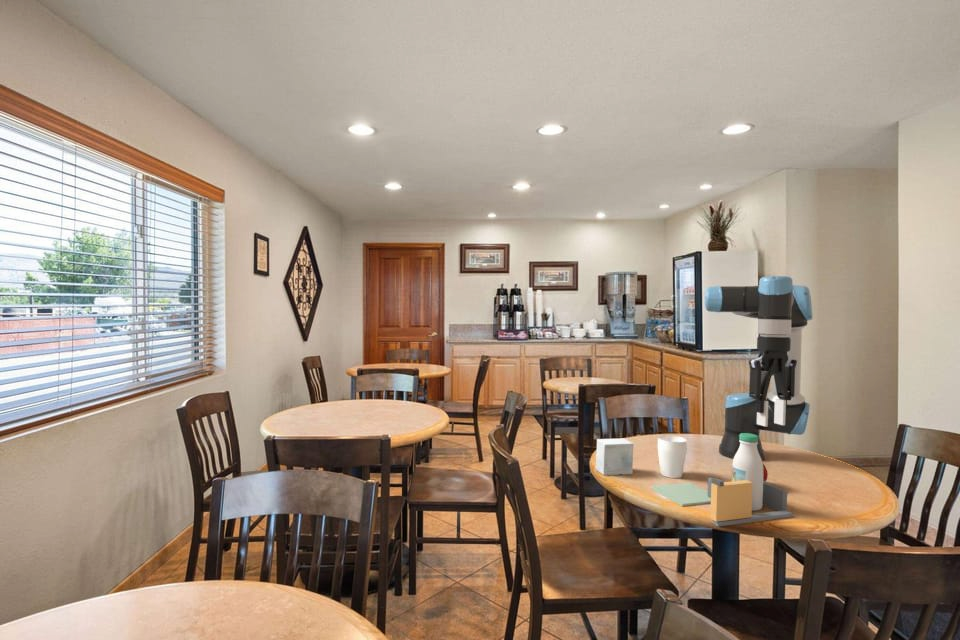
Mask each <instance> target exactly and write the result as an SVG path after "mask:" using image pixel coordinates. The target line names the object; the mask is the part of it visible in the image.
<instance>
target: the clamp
mask: <svg viewBox="0 0 960 640" xmlns="http://www.w3.org/2000/svg"><path fill="white" fill-rule="evenodd" d="M712 478H713V477H708V478H707V491H708V497H709V498H711V483H712ZM763 504H764V505H763ZM763 504H762V505H763V506H766V507H769V509H773V510H775V511H767V512H761V513H760V512H759V513H753V514H752V515H751V517H749V518H741V519H733V520H726V521H718V522H716V521H714V520H712V519H711V520H712V521H711V523H712V524H713V525H714V526H717V527H724V526H725V527H726V526H733V525H741V524H747V523H755V522H756V523H757V522H763V521H769V520H770V521H771V520H778V519H786V518H793V517H794V516H793V514H794V513H793V512H791V511H789V510H788V509H787V508H788V490H786V489H784V488H782V487H779V486H777V485H774V484H772V483H770V482H767V481H766V482H765V481H763Z"/></svg>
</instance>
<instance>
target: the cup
mask: <svg viewBox="0 0 960 640" xmlns="http://www.w3.org/2000/svg"><path fill="white" fill-rule="evenodd" d="M687 445H688V443H687V439H686V438H685V437H681V436H678V435H668V434H666V435H665V434H663V435H659V436H658V437H657V455H658V463H659V471H660V475H661V476H663V477H666V478H669V479H679V478H682V477H683V472H684V467H685V461H686V456H687V451H688V449H687V448H688V446H687Z"/></svg>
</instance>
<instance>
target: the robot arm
mask: <svg viewBox="0 0 960 640" xmlns="http://www.w3.org/2000/svg"><path fill="white" fill-rule="evenodd" d="M810 292H811V291H810V289H809V287H808V286H806V285H797V284H793V278H792V277H790V276H782V275H781V276H780V275H779V276H778V275H777V276H776V275H775V276H774V275H773V276H769V275H768V276H763V277H761V278H760V279H759V283H758V285H751V286H749V285H747V286H745V285H743V286H733V285H732V286H731V285H728V286H727V285H725V286H724V285H723V286H721V285H716V286H708V287H707V288H706V289H705V293H704V307H705V310H706V311H707V312H710V313H711V312H713V313H732V314H733V315H737V316H742V317H745V318H746V317H747V318H751V319H752V318H753V319H757V334H758V336H757V338H756V349H757V350H758V351H759V352H758V355H757V358H755V359H749V360H748V365H749V387H748V389H749V391H748V392H740V393H739V392H738V393H737V392H736V393H731V394H728V395H727V396H726V398H725V404H724V405H725V406H724V432H723V433H724V434H723V436H722V438H721V442H720V444H719V446H718V453H719V454H721V455H722V456H724V457H728V458H730V459H734V456H735V454H736V453H737V451H738V449H739V446H740V442H739V440H740V439H739V435H740V434H741V433H750V434H754V435H757V436H758V444H757V449H758V453H759V455H760V457H761V459H762V460H764V459H765V451H764V448H763V445H762V441H761V437H760V432H761V431H766V432H773V433H782V434H787V435H797V436H798V435H799V436H800V435H801V436H802V435H803V434H804V433H805V432H806V429H807V425H808V420H809V414H810V409H811V408H810V407H811V406H810V405H811V404H810V403H809V402H806V398H805V396H804V395H802V394H801V374H802V372H801V371H802V364H801V363H802V338H803V337H802V336H803V334H802V333H803V329H804V328H805V327H807V326H808V321H811V320H813V316H814V315H813V305H812V298H811V293H810ZM770 384H771V391H769V388H770Z"/></svg>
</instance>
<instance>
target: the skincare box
mask: <svg viewBox="0 0 960 640" xmlns="http://www.w3.org/2000/svg"><path fill="white" fill-rule="evenodd" d="M595 457H596V458H595V470H596V471H597V472H599V473H600V474H601V475H603V476H619V474H623V475H633V465H634V464H633V462H634V443H633V442H632V441H630V440H628V439H627V438H623V437H621V438H598V439H596V456H595Z"/></svg>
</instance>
